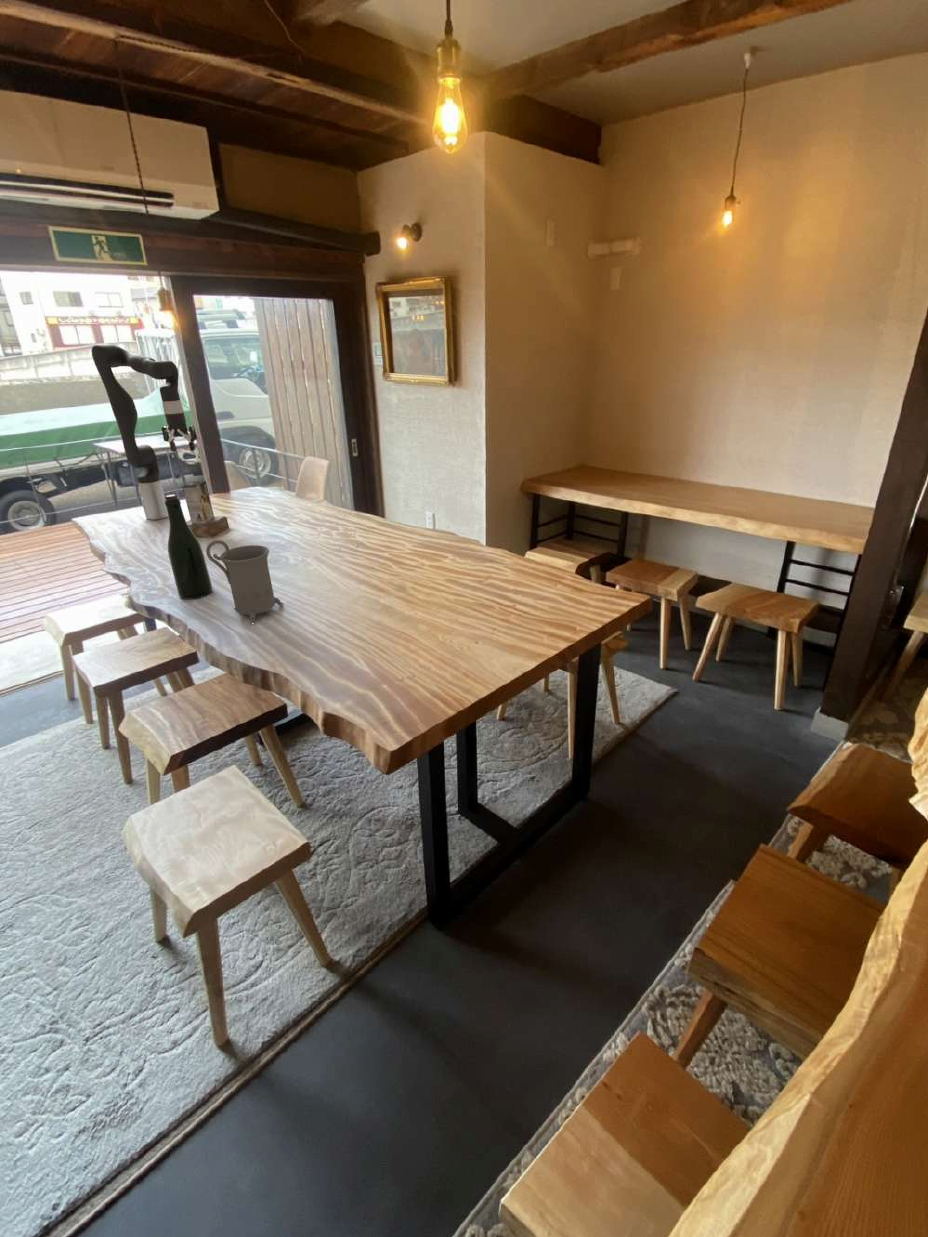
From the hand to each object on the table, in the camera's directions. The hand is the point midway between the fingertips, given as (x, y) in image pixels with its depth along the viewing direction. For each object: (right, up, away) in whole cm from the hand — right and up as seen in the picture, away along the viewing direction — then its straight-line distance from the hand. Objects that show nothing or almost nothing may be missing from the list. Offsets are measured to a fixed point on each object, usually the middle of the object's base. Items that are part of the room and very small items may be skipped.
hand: (183, 450), depth 258 cm
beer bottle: (+34, -65, -62) cm, 96 cm away
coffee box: (+10, -31, -3) cm, 33 cm away
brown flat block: (+10, -36, -1) cm, 37 cm away
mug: (+58, -72, -78) cm, 121 cm away
